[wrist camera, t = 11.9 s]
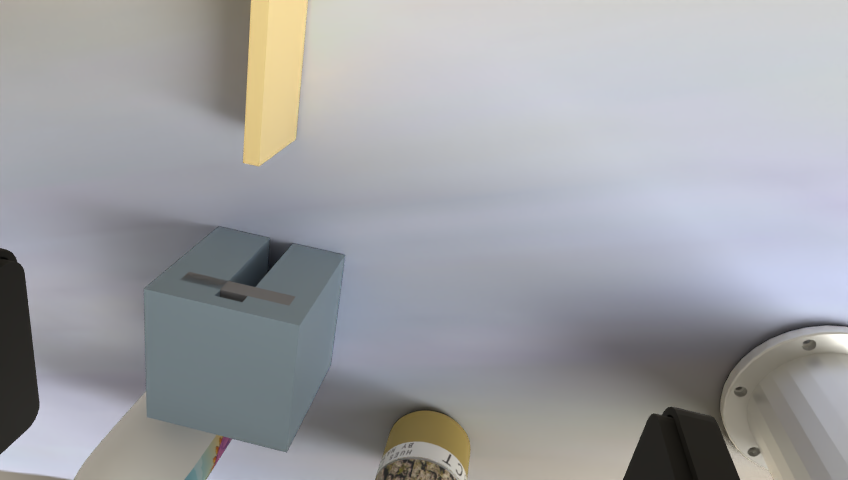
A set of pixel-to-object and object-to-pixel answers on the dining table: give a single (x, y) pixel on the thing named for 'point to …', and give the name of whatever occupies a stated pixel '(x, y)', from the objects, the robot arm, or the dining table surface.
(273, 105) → the tall yellow upright plank
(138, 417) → the milk bottle
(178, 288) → the dispenser
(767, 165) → the dining table surface
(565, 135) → the dining table surface
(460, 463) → the paper tube
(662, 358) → the dining table surface
